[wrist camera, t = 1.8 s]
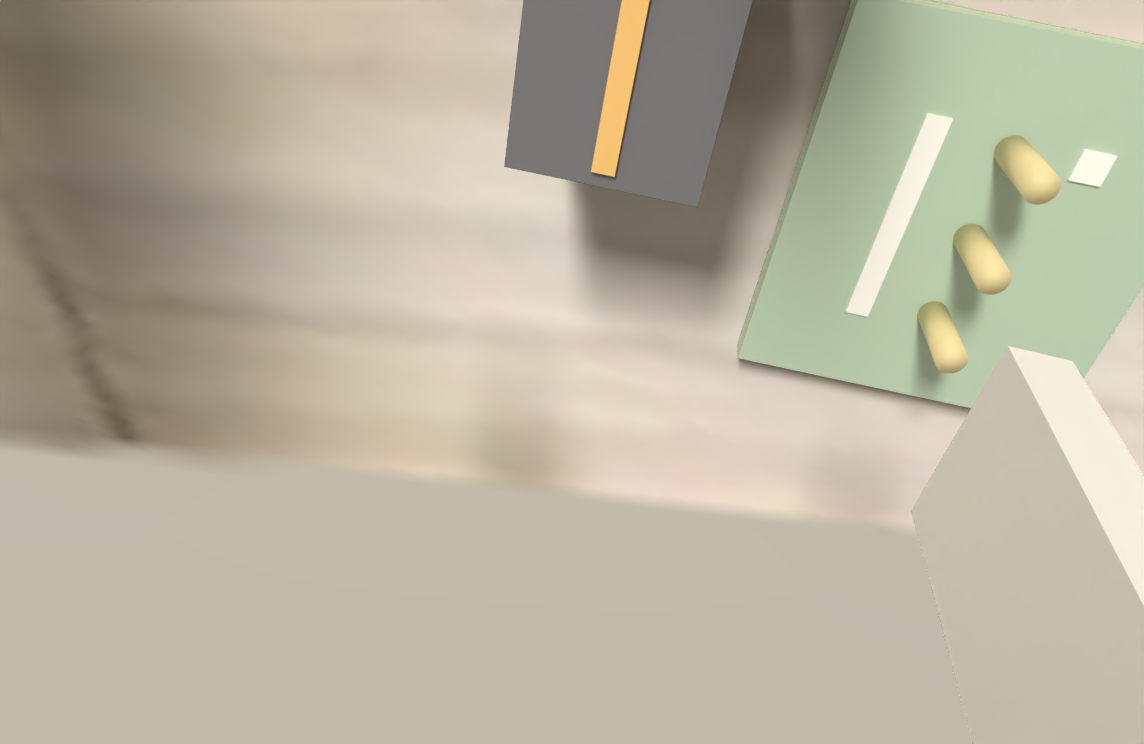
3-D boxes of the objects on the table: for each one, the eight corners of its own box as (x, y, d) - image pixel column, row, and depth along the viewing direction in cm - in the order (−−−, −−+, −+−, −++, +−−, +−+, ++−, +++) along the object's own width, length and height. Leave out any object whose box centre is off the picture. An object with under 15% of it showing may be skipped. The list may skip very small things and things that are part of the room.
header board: (856, -14, 25) (876, 14, 22) (1259, 67, 24) (1342, 108, 21) (737, 343, 32) (739, 405, 29) (1044, 409, 32) (1081, 479, 29)
